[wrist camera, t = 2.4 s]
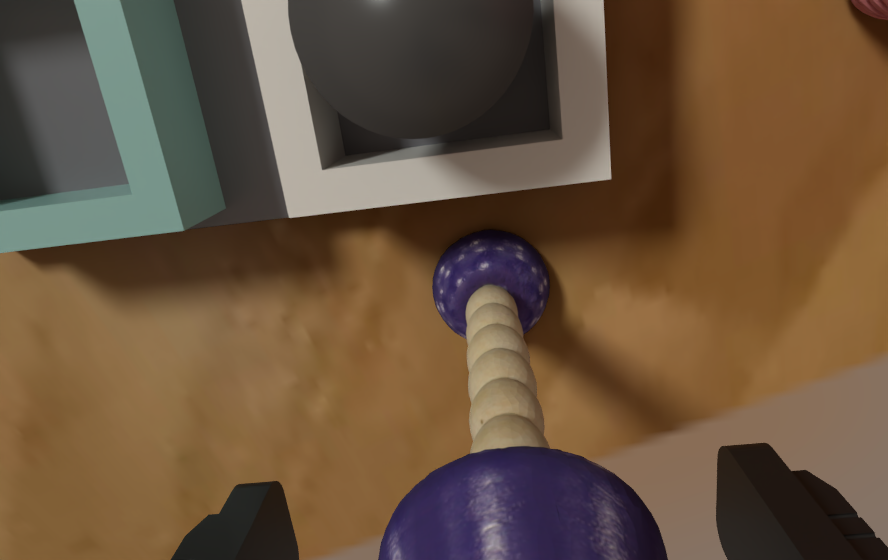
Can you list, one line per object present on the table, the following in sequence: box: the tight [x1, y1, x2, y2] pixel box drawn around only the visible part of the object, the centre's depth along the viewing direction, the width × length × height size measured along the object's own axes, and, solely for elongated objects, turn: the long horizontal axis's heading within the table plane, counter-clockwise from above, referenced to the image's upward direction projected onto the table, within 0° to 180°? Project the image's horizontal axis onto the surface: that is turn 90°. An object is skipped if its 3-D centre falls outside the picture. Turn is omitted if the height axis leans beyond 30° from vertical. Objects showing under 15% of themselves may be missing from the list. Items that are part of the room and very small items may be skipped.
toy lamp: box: [378, 230, 668, 560], centre depth 14 cm, size 5×5×17 cm
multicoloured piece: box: [0, 0, 611, 253], centre depth 16 cm, size 22×10×8 cm, turn 98°
